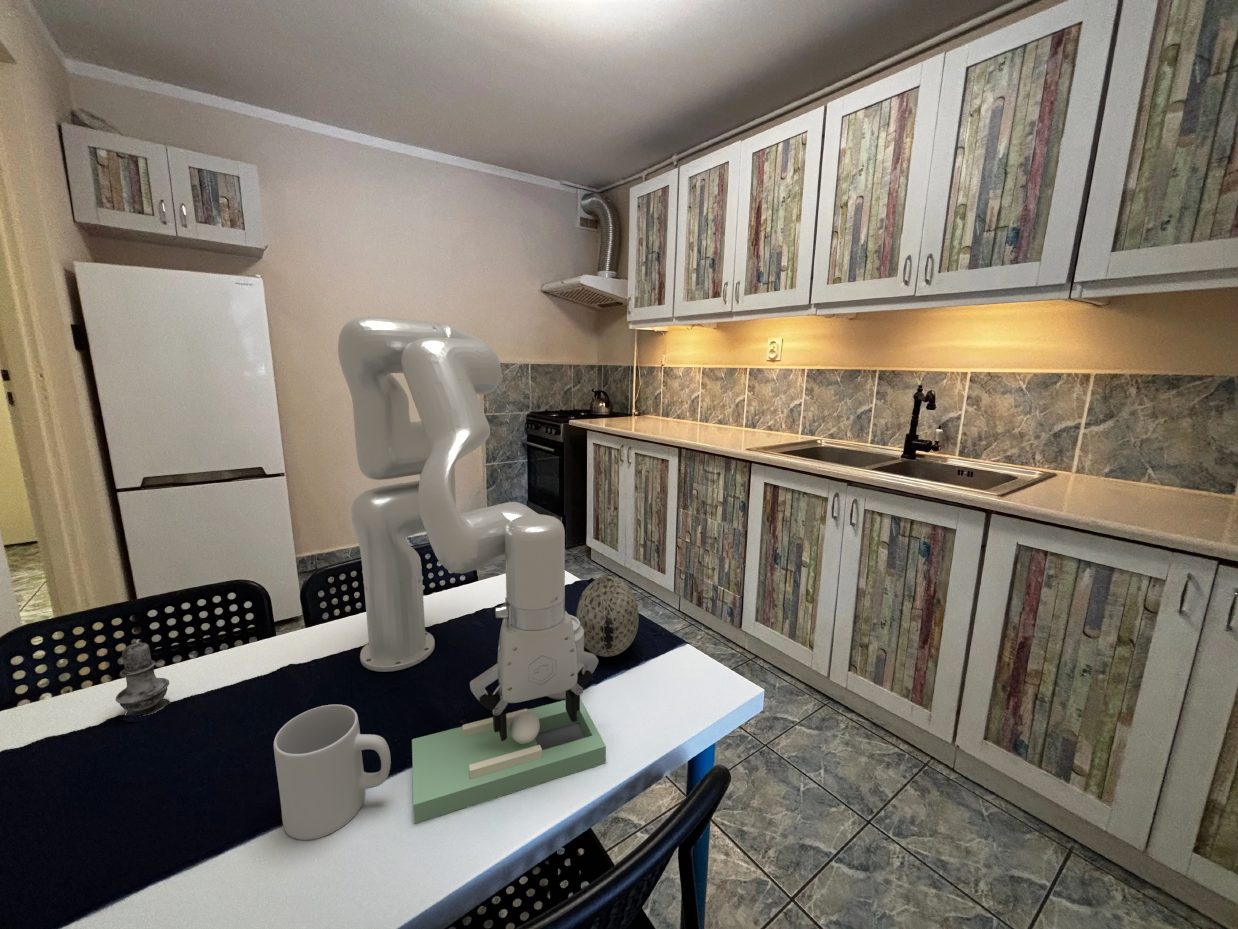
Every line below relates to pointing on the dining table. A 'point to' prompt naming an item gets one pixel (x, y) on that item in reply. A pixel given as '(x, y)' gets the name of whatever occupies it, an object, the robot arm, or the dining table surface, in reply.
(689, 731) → the dining table surface
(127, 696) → the gray stone finial
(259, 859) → the dining table surface
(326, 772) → the mug
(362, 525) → the robot arm
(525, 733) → the ball
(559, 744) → the green
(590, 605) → the decorative egg
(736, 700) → the dining table surface
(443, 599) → the dining table surface
